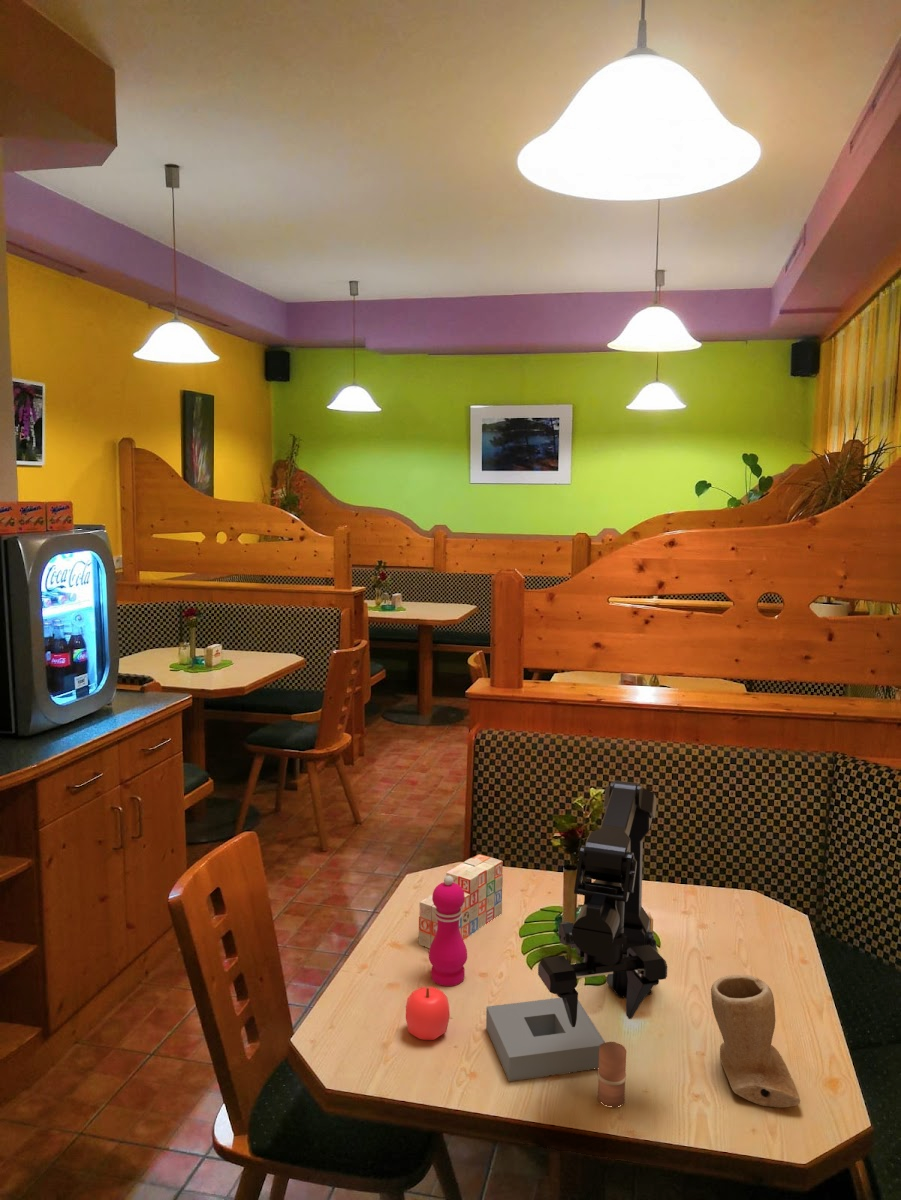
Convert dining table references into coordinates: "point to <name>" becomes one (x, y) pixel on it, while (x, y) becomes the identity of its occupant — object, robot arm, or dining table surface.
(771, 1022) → the clay pipe bowl
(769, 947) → the dining table surface
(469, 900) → the stack of blocks
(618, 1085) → the peg
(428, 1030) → the apple
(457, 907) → the pepper mill
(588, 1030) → the hole block
